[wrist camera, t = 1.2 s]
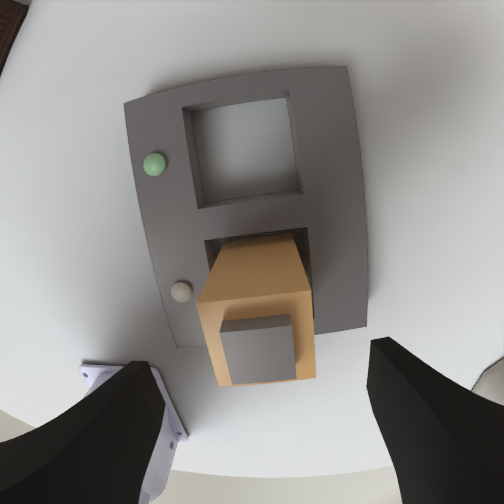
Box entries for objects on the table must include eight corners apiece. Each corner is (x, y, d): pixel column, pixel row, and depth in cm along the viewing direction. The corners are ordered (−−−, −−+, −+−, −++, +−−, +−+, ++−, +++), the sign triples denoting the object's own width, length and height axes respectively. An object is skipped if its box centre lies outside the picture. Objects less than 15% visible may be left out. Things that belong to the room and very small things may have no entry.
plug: (297, 294, 19) (318, 390, 10) (235, 301, 19) (216, 399, 11) (291, 233, 18) (314, 300, 9) (224, 241, 18) (191, 314, 10)
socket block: (358, 311, 19) (368, 328, 17) (183, 331, 20) (175, 349, 18) (337, 75, 15) (347, 64, 12) (137, 108, 16) (121, 102, 13)
